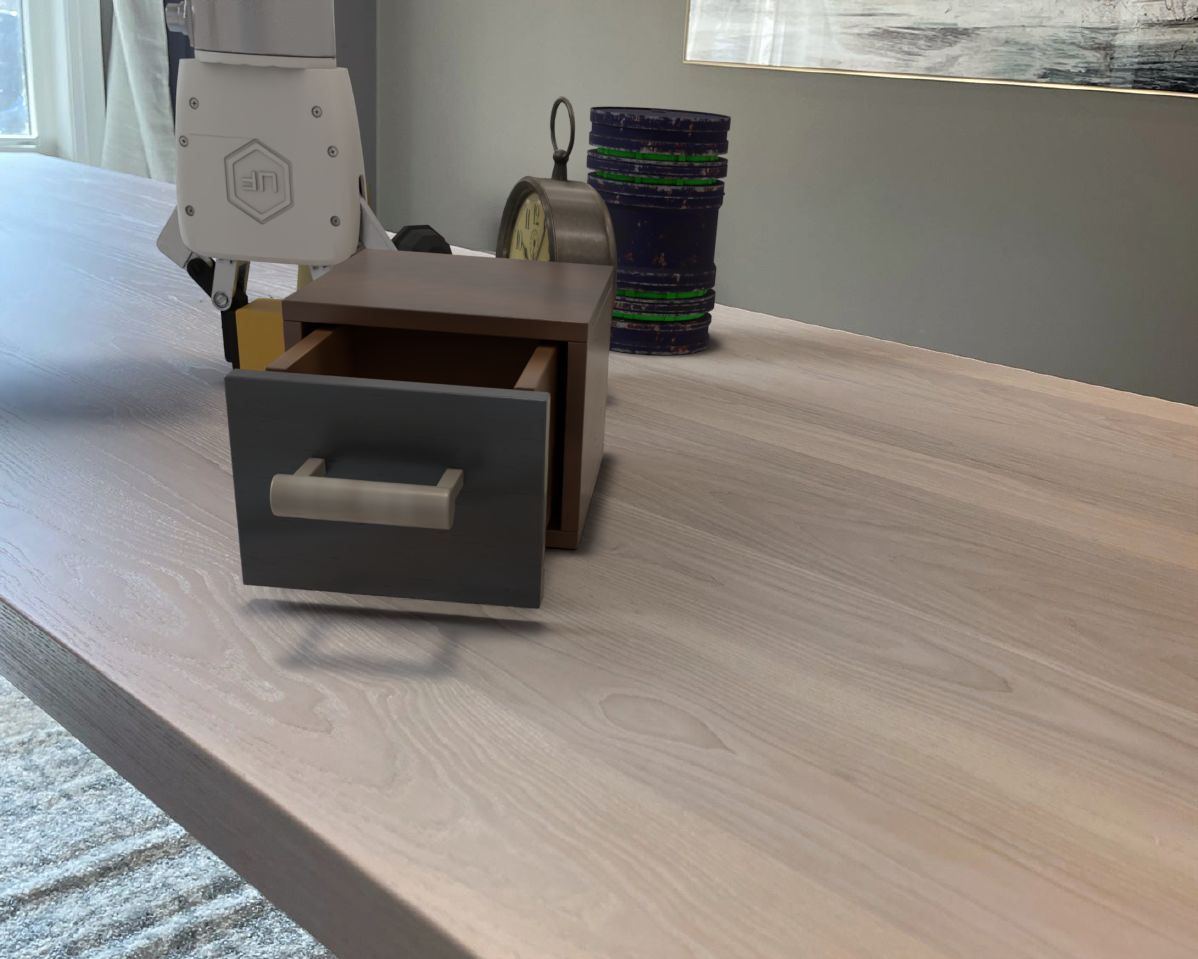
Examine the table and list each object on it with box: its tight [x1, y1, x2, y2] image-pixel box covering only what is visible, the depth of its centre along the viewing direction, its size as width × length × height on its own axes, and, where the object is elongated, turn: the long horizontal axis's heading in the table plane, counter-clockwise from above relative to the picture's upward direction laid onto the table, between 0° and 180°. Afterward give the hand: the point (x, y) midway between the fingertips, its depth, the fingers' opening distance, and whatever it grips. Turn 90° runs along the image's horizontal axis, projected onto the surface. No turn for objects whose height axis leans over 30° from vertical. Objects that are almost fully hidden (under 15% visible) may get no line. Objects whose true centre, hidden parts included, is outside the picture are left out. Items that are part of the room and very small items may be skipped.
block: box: [236, 297, 285, 371], centre depth 78 cm, size 4×4×4 cm
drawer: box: [223, 323, 566, 610], centre depth 51 cm, size 18×11×8 cm, turn 175°
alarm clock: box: [494, 95, 617, 319], centre depth 78 cm, size 11×5×16 cm, turn 21°
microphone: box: [390, 224, 454, 255], centre depth 108 cm, size 6×6×20 cm
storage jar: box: [585, 105, 732, 356], centre depth 92 cm, size 10×10×15 cm
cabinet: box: [281, 248, 614, 550], centre depth 61 cm, size 15×13×10 cm
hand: (287, 375), depth 79 cm, fingers closed on block, 4 cm apart
